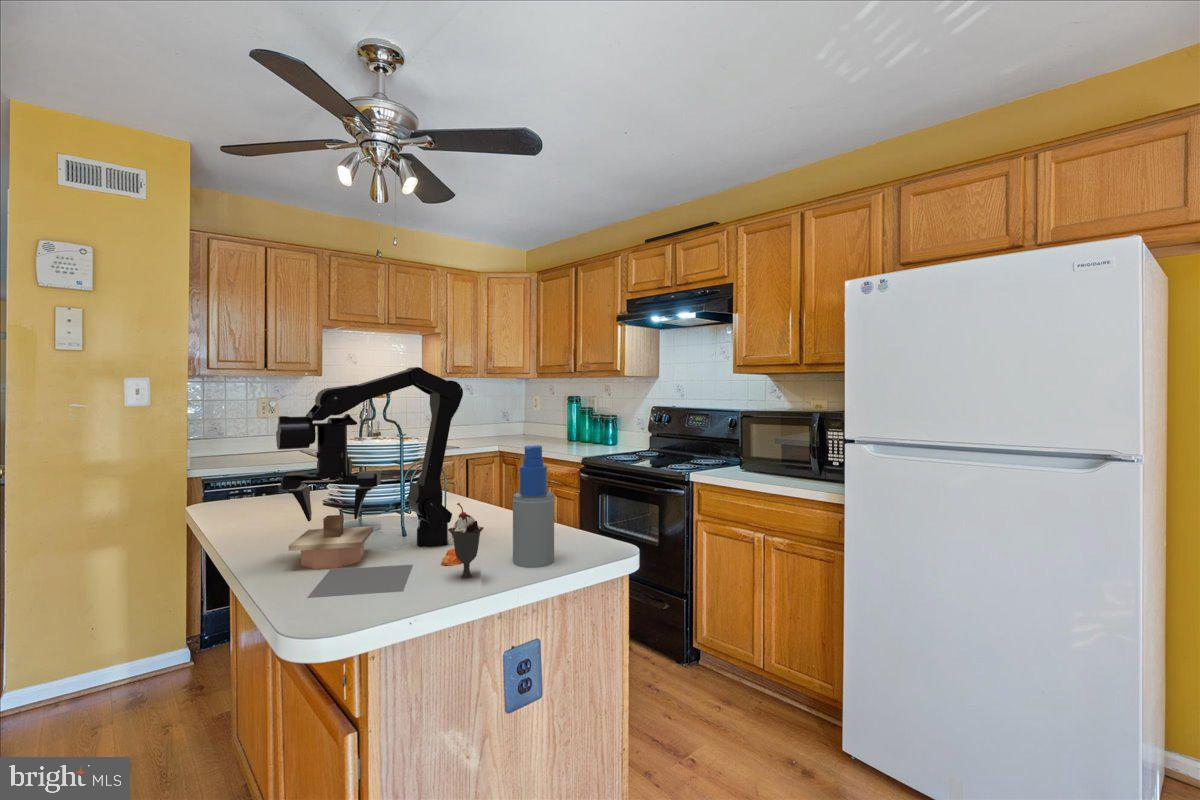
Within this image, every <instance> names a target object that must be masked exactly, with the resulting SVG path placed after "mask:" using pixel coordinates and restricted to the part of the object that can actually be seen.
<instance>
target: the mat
mask: <svg viewBox="0 0 1200 800" xmlns="http://www.w3.org/2000/svg"><path fill="white" fill-rule="evenodd" d="M413 566H414V564H404V565H403V564H399V565H384V566H383V565H381V566H368V567H367V566H366V567H354V568H353V567H351V568H350V567H349V568H330V570H329V571H328V572H327V573H326V574H325V575H324V577H323V578H322V579H321V580H320V581H319V583H318V584H317V585H316V586H315V587H314V588H313V590H311V592H310V593H309V595H308V596H307V597H306V599H310V598H312V599H313V598H326V597H327V598H328V597H342V596H355V595H369V594H371V595H372V594H384V593H387V594H388V593H401V592H404V590H405V588H406V585H407V582H408V579H409V577H410V574H411V571H412V569H413Z"/></svg>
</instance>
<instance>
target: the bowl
mask: <svg viewBox="0 0 1200 800" xmlns="http://www.w3.org/2000/svg"><path fill="white" fill-rule="evenodd" d="M364 557H365V543H364V544H363V545H362V547H352V548H333V549H314V550H300V559H301V560H300V565H301V566H303V567H307V568H310V569H313V570H316V569H317V570H318V569H319V570H320V569H339V568H342V567H345V566H349V565H353V564H356V563H359V562H361V560H362V559H363V558H364Z"/></svg>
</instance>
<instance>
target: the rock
mask: <svg viewBox="0 0 1200 800" xmlns="http://www.w3.org/2000/svg"><path fill="white" fill-rule="evenodd" d="M461 564H462V565H463V563H462V562H461V561H459V560H458V558H457V557H456V553H455V548H450V549H448V550H447V551H446V553H445V556H444V557H442V559H441V562H440V565H441V566H448V567H455V566H458V565H461Z"/></svg>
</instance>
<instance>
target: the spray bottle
mask: <svg viewBox="0 0 1200 800" xmlns="http://www.w3.org/2000/svg"><path fill="white" fill-rule="evenodd" d="M512 563H513V564H514V565H515V566H517V567H520V568H521V567H522V568H542V567H543V568H544V567H547V566H549V565H553V563H555V497H554V493H553V492H550V491H548V465H546V464H544V457H543V446H542V445H540V444H539V445H538V444H537V445H536V444H535V445H525V446H524V457H523V458H522V465H519V492H516V493H514V494H513V499H512Z"/></svg>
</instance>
